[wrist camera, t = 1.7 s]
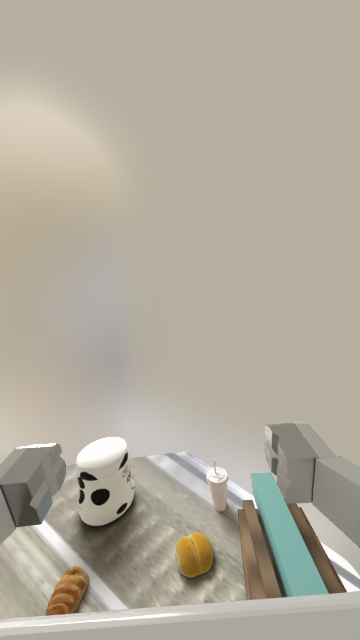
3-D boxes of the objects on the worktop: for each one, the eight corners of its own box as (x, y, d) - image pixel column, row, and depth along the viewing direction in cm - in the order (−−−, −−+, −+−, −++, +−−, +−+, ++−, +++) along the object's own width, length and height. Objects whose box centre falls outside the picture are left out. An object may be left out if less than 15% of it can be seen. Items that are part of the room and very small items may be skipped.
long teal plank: (457, 915, 11) (452, 854, 11) (385, 908, 11) (380, 847, 11) (273, 492, 37) (271, 472, 37) (252, 492, 37) (250, 473, 37)
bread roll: (219, 570, 48) (217, 553, 48) (181, 586, 46) (179, 568, 46) (205, 534, 56) (204, 519, 56) (173, 546, 54) (171, 531, 54)
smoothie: (219, 492, 68) (214, 450, 68) (235, 505, 63) (230, 460, 63) (205, 505, 64) (200, 460, 64) (221, 520, 59) (216, 471, 59)
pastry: (65, 642, 39) (63, 623, 39) (33, 640, 40) (30, 621, 40) (92, 579, 49) (90, 563, 49) (65, 578, 50) (63, 563, 49)
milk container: (146, 492, 71) (140, 440, 71) (108, 544, 56) (100, 478, 55) (109, 478, 79) (103, 431, 79) (66, 520, 64) (59, 463, 63)
